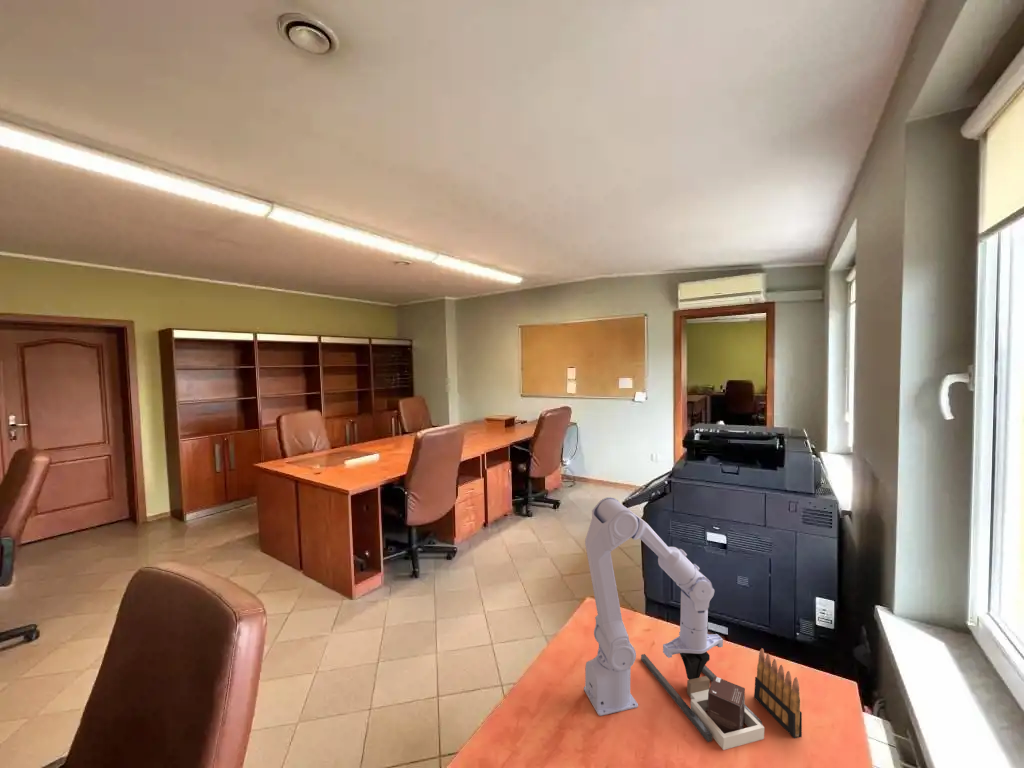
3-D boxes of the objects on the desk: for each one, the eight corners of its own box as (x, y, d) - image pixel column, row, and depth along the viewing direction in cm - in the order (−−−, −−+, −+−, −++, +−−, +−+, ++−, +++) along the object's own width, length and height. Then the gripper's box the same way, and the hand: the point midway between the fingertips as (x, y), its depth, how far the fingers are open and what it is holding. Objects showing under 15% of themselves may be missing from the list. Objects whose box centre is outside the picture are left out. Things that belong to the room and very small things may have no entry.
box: (739, 742, 83) (740, 706, 83) (706, 726, 87) (707, 692, 87) (744, 721, 88) (745, 687, 88) (713, 707, 92) (714, 674, 92)
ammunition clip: (753, 697, 95) (755, 646, 94) (760, 696, 95) (762, 644, 95) (794, 739, 84) (796, 681, 84) (802, 737, 85) (804, 680, 84)
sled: (723, 750, 82) (723, 734, 82) (678, 695, 95) (678, 682, 95) (764, 738, 84) (764, 723, 84) (714, 687, 98) (714, 674, 97)
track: (707, 743, 84) (707, 735, 83) (641, 660, 107) (641, 654, 107) (761, 728, 87) (762, 721, 87) (685, 651, 110) (685, 645, 110)
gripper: (708, 608, 103) (707, 662, 103) (655, 617, 99) (654, 673, 100) (730, 625, 96) (728, 683, 97) (674, 636, 92) (673, 696, 93)
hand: (692, 680), depth 98 cm, fingers closed, pressing on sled
